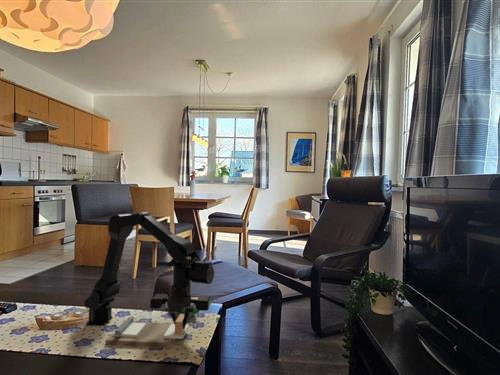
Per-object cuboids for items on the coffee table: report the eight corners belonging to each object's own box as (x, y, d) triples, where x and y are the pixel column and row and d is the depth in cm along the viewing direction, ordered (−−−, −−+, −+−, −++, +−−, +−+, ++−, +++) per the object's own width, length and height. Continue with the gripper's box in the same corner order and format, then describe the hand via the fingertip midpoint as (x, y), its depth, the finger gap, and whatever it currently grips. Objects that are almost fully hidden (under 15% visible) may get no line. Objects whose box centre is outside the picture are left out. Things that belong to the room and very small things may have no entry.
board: (105, 344, 91) (105, 340, 91) (124, 325, 104) (124, 321, 104) (169, 347, 91) (169, 343, 91) (181, 327, 104) (181, 323, 104)
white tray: (111, 337, 93) (111, 330, 93) (125, 323, 103) (125, 316, 103) (136, 338, 93) (136, 331, 93) (148, 324, 103) (148, 317, 103)
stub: (163, 338, 93) (164, 322, 93) (171, 326, 101) (171, 312, 101) (182, 339, 93) (183, 323, 93) (188, 327, 101) (189, 312, 101)
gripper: (144, 287, 90) (142, 339, 90) (205, 289, 89) (204, 342, 89) (156, 276, 101) (155, 322, 101) (211, 278, 100) (210, 325, 100)
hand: (180, 328), depth 97 cm, fingers closed on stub, 2 cm apart
